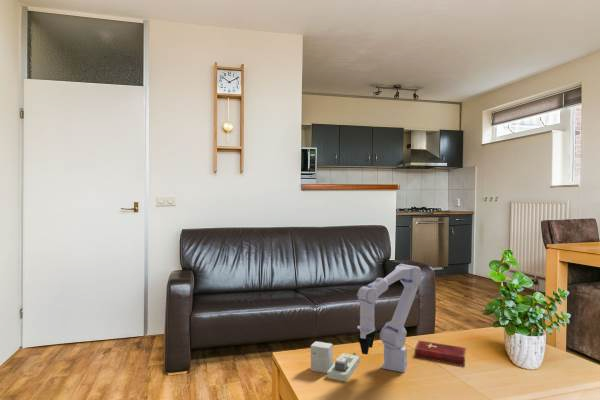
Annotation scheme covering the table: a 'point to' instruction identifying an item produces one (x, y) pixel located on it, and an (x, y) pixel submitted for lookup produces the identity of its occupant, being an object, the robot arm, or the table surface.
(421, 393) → the table surface
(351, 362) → the power strip
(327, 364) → the small box
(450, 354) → the hardcover book
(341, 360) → the plug
